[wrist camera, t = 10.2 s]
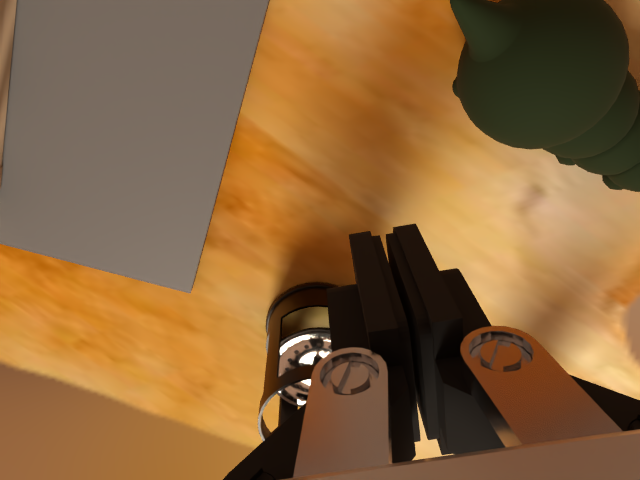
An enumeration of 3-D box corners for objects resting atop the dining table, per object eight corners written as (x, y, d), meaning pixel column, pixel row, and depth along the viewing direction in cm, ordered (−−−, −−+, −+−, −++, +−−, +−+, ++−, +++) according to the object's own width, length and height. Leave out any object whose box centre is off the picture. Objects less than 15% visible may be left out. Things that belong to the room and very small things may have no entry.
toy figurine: (682, 117, 39) (453, -80, 31) (984, 221, 23) (672, -136, 15) (597, 208, 43) (370, 54, 34) (807, 356, 26) (471, 131, 18)
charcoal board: (-61, -137, 29) (-73, -142, 28) (272, -10, 33) (271, -11, 32) (-61, 220, 40) (-70, 225, 39) (192, 287, 43) (190, 293, 42)
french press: (323, 381, 49) (338, 662, 28) (243, 339, 46) (195, 615, 25) (397, 300, 45) (478, 559, 24) (314, 249, 42) (325, 491, 21)
